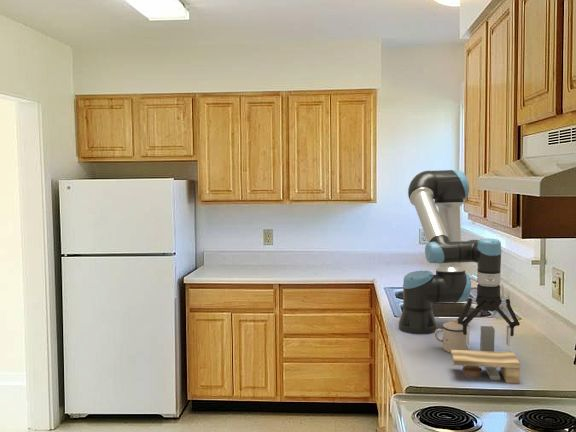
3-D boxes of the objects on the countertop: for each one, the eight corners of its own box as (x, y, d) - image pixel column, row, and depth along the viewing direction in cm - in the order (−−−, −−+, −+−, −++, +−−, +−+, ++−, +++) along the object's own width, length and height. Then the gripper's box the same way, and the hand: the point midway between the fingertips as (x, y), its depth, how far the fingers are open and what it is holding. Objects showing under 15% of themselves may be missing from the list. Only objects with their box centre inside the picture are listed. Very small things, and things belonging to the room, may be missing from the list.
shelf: (450, 368, 198) (451, 349, 197) (512, 371, 194) (513, 352, 194) (453, 380, 188) (454, 360, 187) (519, 383, 185) (519, 363, 184)
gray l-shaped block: (480, 358, 206) (480, 325, 204) (491, 359, 205) (492, 326, 204) (488, 379, 188) (489, 343, 187) (501, 379, 187) (502, 343, 186)
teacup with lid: (468, 346, 218) (469, 316, 217) (467, 355, 210) (467, 323, 208) (435, 343, 222) (436, 313, 221) (432, 351, 214) (433, 320, 212)
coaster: (461, 370, 196) (461, 364, 196) (480, 371, 195) (480, 365, 195) (464, 377, 190) (464, 371, 190) (483, 378, 189) (483, 372, 189)
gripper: (452, 285, 198) (451, 346, 201) (529, 287, 194) (528, 349, 196) (449, 281, 206) (449, 339, 208) (524, 282, 202) (523, 342, 204)
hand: (487, 344), depth 202 cm, fingers open, 13 cm apart
